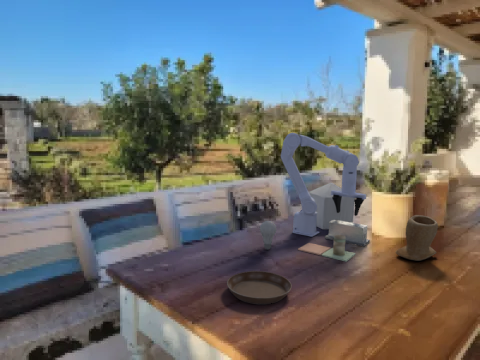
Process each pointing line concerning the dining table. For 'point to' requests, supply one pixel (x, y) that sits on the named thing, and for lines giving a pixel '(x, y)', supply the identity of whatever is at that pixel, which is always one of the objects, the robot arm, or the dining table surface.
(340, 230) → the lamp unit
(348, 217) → the decorative block
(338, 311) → the dining table surface
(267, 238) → the lightbulb
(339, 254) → the fuse
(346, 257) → the sage pad
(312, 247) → the terracotta pad
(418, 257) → the stone cup
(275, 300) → the plant saucer
